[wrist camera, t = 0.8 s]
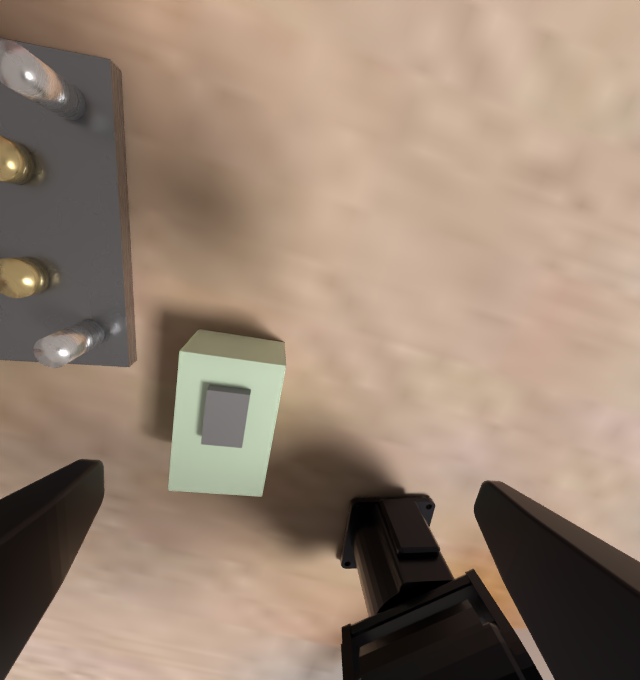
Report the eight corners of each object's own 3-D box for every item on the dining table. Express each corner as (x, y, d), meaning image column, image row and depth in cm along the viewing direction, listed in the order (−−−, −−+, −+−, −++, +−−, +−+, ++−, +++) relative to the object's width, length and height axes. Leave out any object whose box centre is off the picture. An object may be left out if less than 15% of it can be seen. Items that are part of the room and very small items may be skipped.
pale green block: (264, 451, 22) (261, 505, 17) (187, 444, 21) (164, 499, 16) (284, 341, 19) (286, 370, 15) (199, 328, 19) (175, 355, 14)
